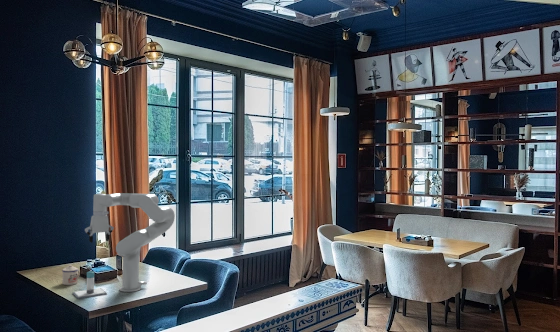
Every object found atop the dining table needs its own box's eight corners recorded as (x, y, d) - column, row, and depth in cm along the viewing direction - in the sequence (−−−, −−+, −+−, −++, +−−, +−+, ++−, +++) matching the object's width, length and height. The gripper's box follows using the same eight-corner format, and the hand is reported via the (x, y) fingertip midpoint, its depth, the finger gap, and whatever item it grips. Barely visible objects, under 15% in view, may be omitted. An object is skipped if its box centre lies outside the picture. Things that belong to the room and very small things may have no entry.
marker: (92, 291, 274) (93, 270, 274) (94, 292, 271) (95, 272, 271) (85, 292, 272) (85, 271, 271) (87, 293, 269) (87, 273, 268)
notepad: (100, 289, 282) (100, 287, 282) (106, 294, 272) (106, 292, 272) (72, 293, 272) (72, 291, 272) (77, 298, 263) (77, 297, 263)
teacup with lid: (69, 286, 287) (69, 267, 287) (58, 284, 291) (58, 265, 291) (84, 281, 298) (85, 263, 298) (74, 279, 302) (74, 261, 301)
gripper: (111, 212, 294) (111, 239, 295) (83, 214, 284) (82, 241, 284) (116, 213, 289) (115, 241, 289) (87, 215, 278) (86, 243, 278)
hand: (99, 241), depth 286 cm, fingers open, 9 cm apart
